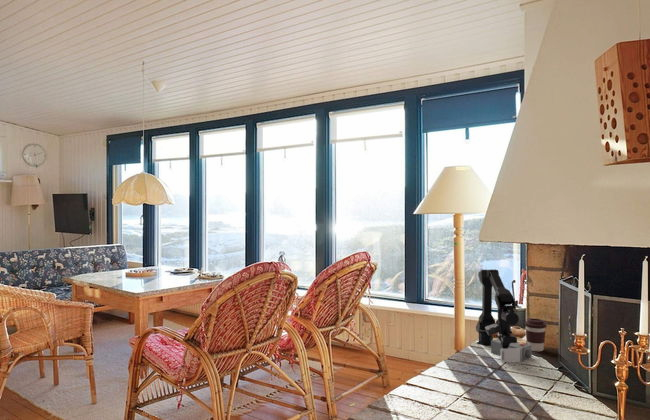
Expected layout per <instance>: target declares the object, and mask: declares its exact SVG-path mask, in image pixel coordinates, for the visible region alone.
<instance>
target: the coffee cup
mask: <svg viewBox="0 0 650 420" xmlns="http://www.w3.org/2000/svg"><path fill="white" fill-rule="evenodd" d="M524 326H525V332H526V333H525V335H526V341H527V343H526V344H528V345H531V349H532V352H542V351H544V348H545V341H546V328H547V323H546V322H544V321H543V319H540V318H529V319H527V320H526V321H525V322H524Z"/></svg>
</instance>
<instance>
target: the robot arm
mask: <svg viewBox="0 0 650 420" xmlns="http://www.w3.org/2000/svg"><path fill="white" fill-rule="evenodd" d="M499 272H500V271H499V270H498V269H494V268H493V269H480V271H478V279H479V282H480V284H481V285H482V289H481V290H482V296H481V298H482V300H481V301H482V303H481V304H482V305H481V306H482V307H481V313H480V315H479V316H478V321H477V323H476V325H475V329H476V330H475V331H476V332H477V333H478V341H477V342H476V344H478V345H481V346H485V347H488V346H491V341H492V340H494V336H493V335H495V336H496V339H499V340H500V342H501V346H502V349H507V348H508V347H509V345H510V343H517V342H518V338H517V337H516V336H515V335H514V334H513V331H512V326H515V325H517V324H518V323H519V321H520V318H519V315H518V314H517V313H516V312H515V310H516V309H517V303H516V301H515V298H514V295H513V294H512V292H511V291H510V289H508V288H506V287H505V285H504V283H503V281H502V278H501V276H500V273H499ZM493 290H494V292H495V294H494V301H495V302H494V303H495V304H496V308H497V320H496V319H495V318H494V316H493V315H492V311H493V310H492V305H493V304H492V302H493V301H492V300H493V299H492V298H493V297H492V296H493Z"/></svg>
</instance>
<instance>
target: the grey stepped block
mask: <svg viewBox="0 0 650 420" xmlns="http://www.w3.org/2000/svg"><path fill="white" fill-rule="evenodd" d="M508 348H522V362H523V361H527V360H529V359H532V354H533V353H532V352H533V351H532V349H531V345H528V343H525V342H521V341H517V343H510V345H509V347H508ZM501 349H502V346H501V342H500V340H499V339H498V338H496V339H493V340H492V341H491V345H490V353H491V354H494V355H498V356H500V357H501Z"/></svg>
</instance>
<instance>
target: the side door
mask: <svg viewBox="0 0 650 420" xmlns="http://www.w3.org/2000/svg"><path fill="white" fill-rule="evenodd" d="M500 362H501V363H517V362H519V363H522V362H523V361H522V348H507V349H501V356H500Z"/></svg>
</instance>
